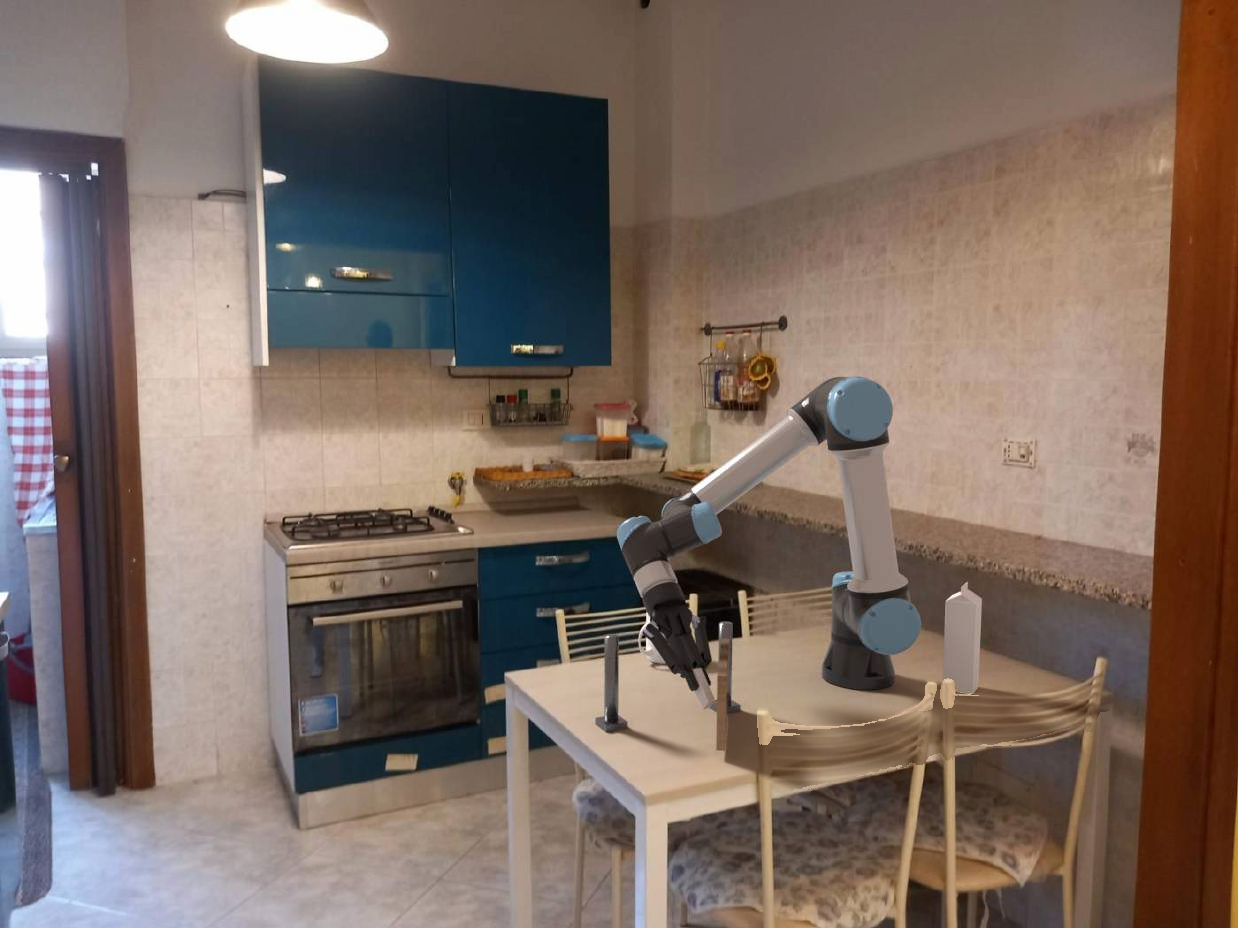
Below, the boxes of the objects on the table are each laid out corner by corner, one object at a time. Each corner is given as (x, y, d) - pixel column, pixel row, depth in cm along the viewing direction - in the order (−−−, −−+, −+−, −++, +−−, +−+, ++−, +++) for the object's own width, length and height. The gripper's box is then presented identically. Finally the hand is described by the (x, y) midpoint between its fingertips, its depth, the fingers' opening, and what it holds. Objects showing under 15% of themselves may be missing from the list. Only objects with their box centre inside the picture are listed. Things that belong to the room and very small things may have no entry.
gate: (720, 704, 180) (721, 638, 178) (729, 704, 179) (731, 638, 178) (716, 750, 158) (717, 675, 156) (727, 751, 157) (728, 676, 156)
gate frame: (720, 699, 186) (722, 616, 185) (740, 710, 180) (741, 624, 179) (595, 723, 173) (595, 634, 172) (612, 736, 167) (612, 643, 166)
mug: (626, 660, 212) (626, 613, 211) (667, 650, 219) (667, 606, 218) (650, 669, 205) (650, 622, 204) (691, 660, 212) (692, 613, 211)
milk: (978, 687, 194) (983, 583, 192) (972, 696, 189) (977, 589, 187) (948, 682, 198) (952, 579, 195) (941, 690, 192) (946, 585, 190)
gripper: (682, 597, 181) (730, 708, 168) (622, 606, 175) (668, 721, 162) (697, 576, 176) (748, 688, 163) (636, 583, 170) (685, 701, 157)
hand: (708, 705), depth 162 cm, fingers closed
